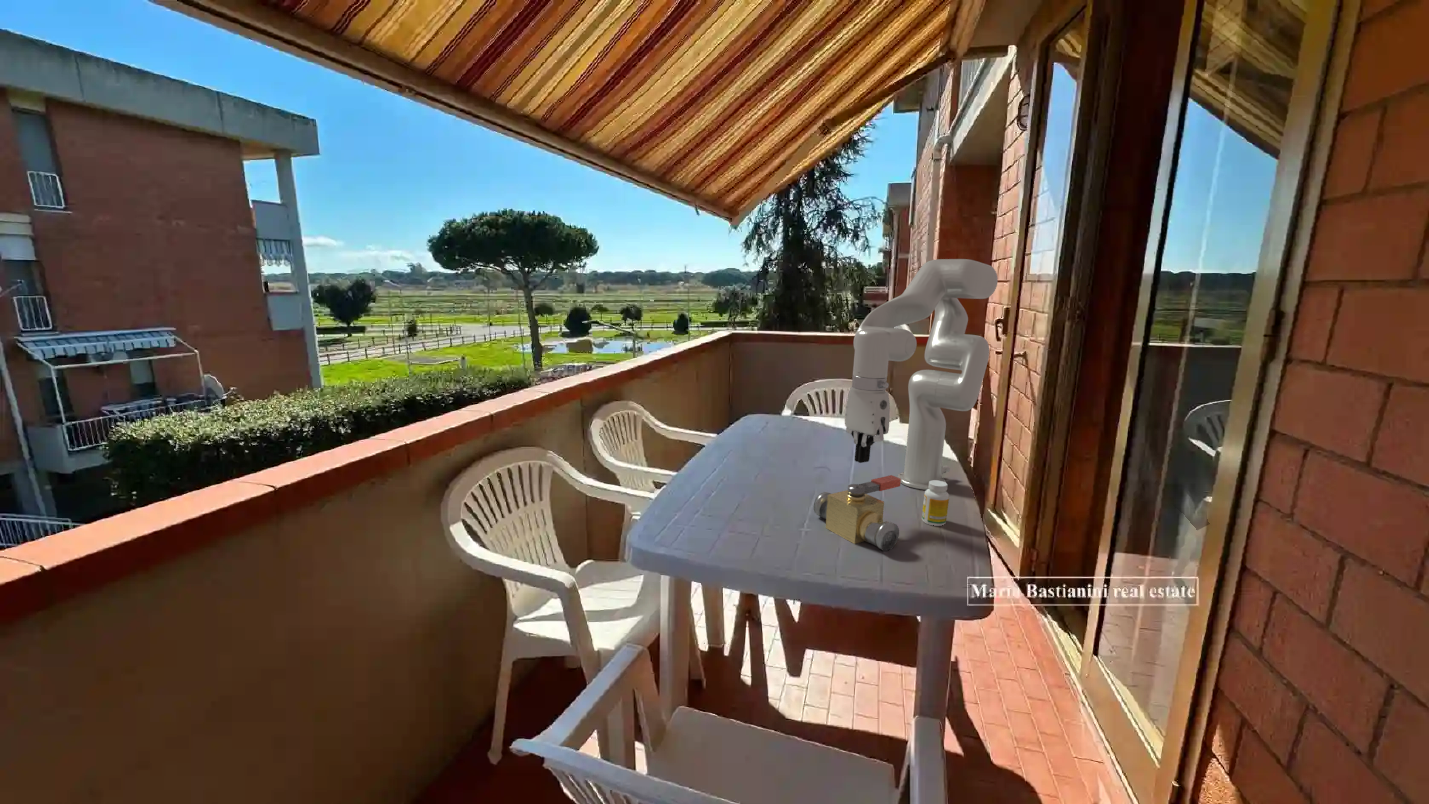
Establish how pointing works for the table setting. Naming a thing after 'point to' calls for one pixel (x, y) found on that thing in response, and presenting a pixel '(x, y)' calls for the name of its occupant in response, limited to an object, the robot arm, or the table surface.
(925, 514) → the supplement bottle
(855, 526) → the valve
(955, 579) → the table surface
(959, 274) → the robot arm
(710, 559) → the table surface
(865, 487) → the lever
